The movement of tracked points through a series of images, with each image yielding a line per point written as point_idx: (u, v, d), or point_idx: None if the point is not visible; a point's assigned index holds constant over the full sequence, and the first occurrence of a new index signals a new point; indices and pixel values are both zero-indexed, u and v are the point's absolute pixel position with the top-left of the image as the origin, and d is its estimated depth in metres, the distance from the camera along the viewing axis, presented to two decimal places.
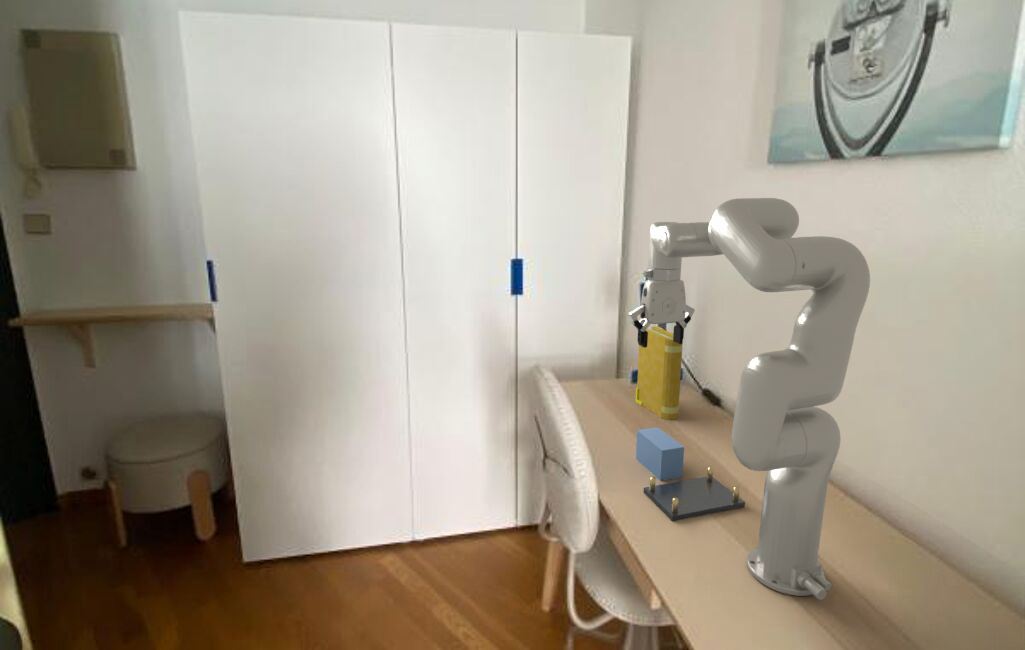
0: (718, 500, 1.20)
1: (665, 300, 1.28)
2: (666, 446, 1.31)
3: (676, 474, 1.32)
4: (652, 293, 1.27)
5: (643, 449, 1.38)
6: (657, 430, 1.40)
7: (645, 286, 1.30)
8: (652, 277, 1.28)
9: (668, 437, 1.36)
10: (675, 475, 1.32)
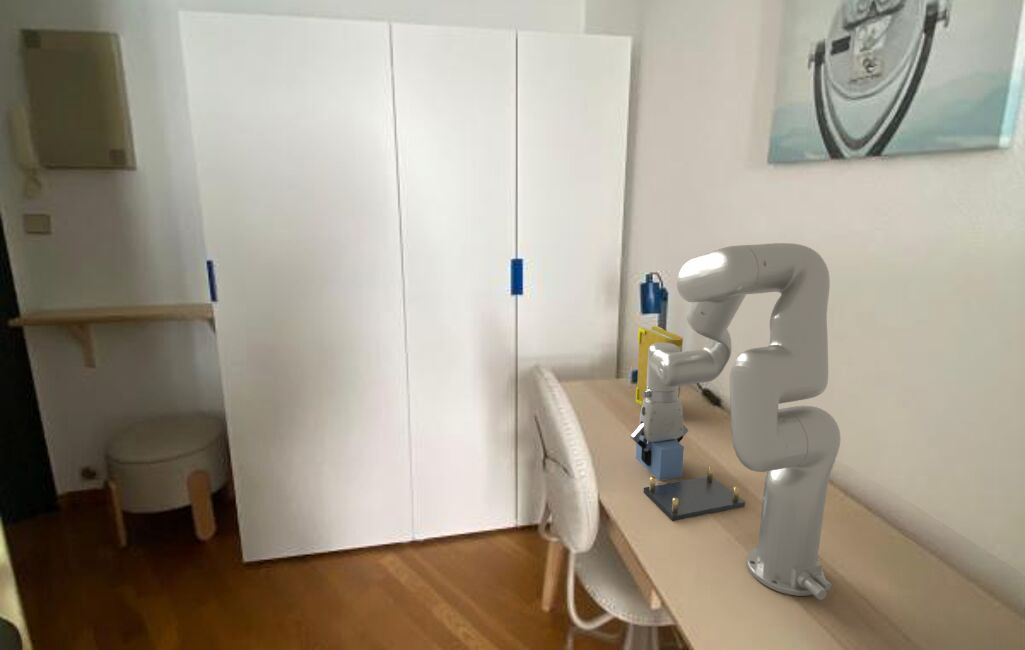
0: (718, 500, 1.20)
1: (663, 420, 1.32)
2: (666, 446, 1.31)
3: (675, 474, 1.32)
4: (650, 414, 1.31)
5: None
6: None
7: (643, 405, 1.33)
8: (650, 398, 1.31)
9: None
10: (674, 474, 1.32)
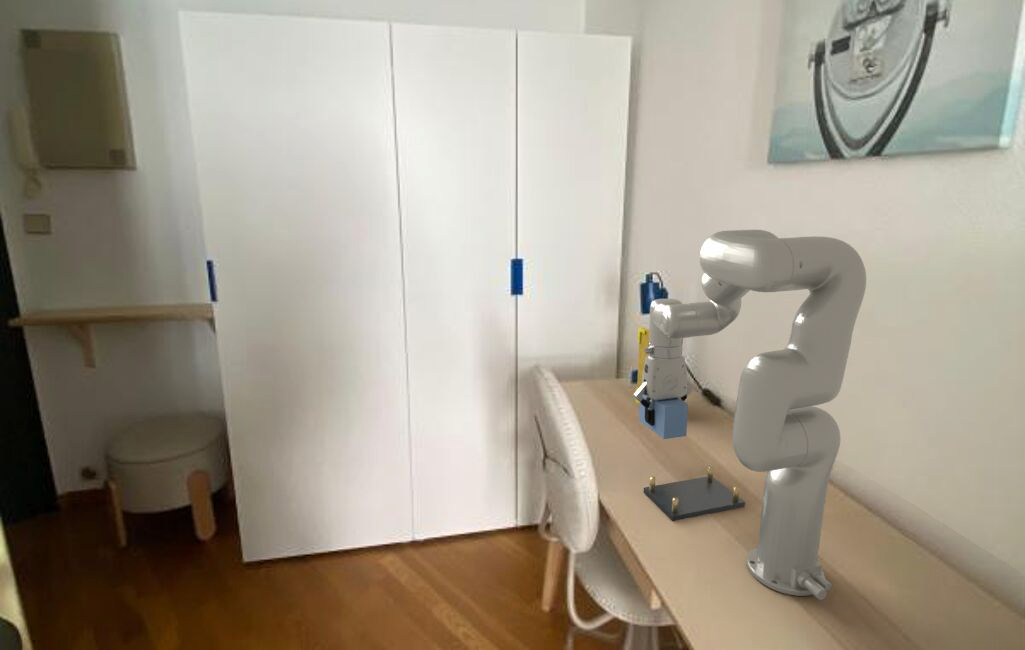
0: (718, 500, 1.20)
1: (666, 377, 1.29)
2: (670, 403, 1.28)
3: (679, 433, 1.29)
4: (653, 370, 1.28)
5: None
6: None
7: (646, 362, 1.30)
8: (653, 354, 1.28)
9: None
10: (679, 433, 1.29)
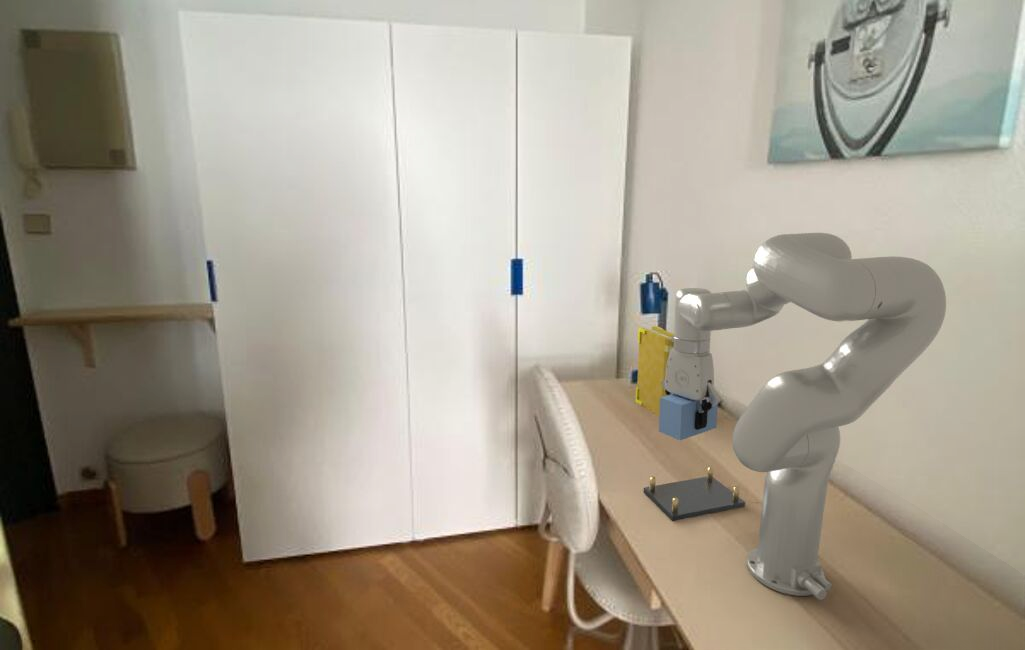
0: (718, 500, 1.20)
1: (678, 371, 1.20)
2: (671, 398, 1.20)
3: (673, 433, 1.19)
4: (668, 359, 1.22)
5: None
6: None
7: None
8: None
9: None
10: (673, 434, 1.19)
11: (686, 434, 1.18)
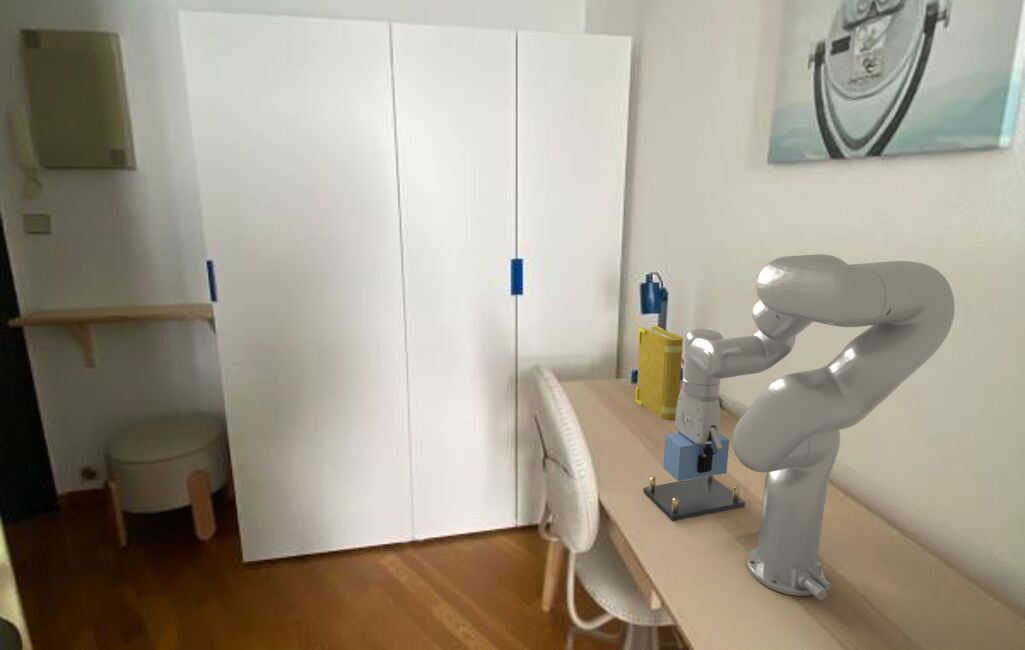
0: (718, 500, 1.20)
1: (684, 411, 1.18)
2: (675, 438, 1.19)
3: (673, 473, 1.19)
4: (678, 398, 1.21)
5: None
6: None
7: None
8: None
9: None
10: (673, 473, 1.19)
11: (685, 475, 1.17)
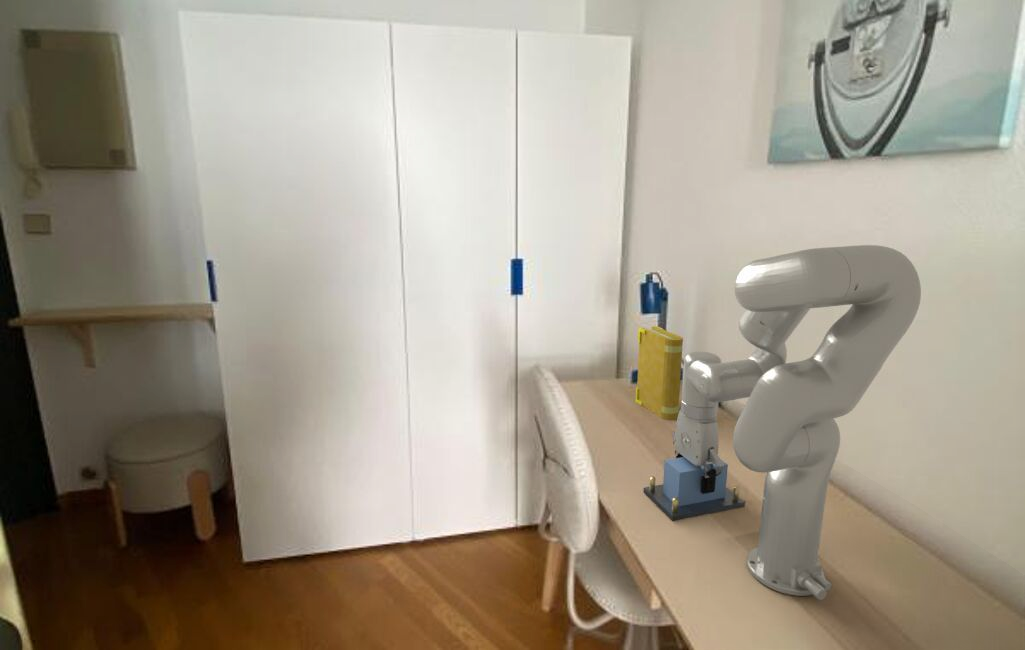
0: (718, 500, 1.20)
1: (683, 433, 1.19)
2: (674, 463, 1.20)
3: None
4: (677, 419, 1.22)
5: None
6: None
7: None
8: None
9: None
10: (672, 498, 1.20)
11: (685, 501, 1.18)
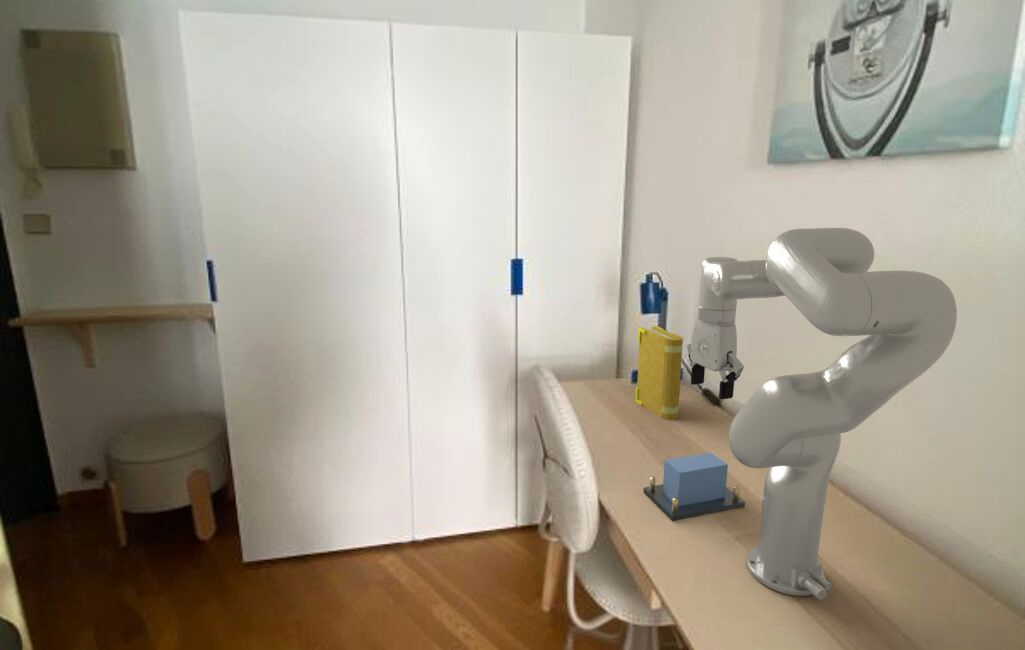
0: (718, 500, 1.20)
1: (701, 340, 1.19)
2: (674, 463, 1.20)
3: None
4: (693, 329, 1.21)
5: None
6: (717, 463, 1.20)
7: None
8: None
9: (701, 467, 1.19)
10: (672, 498, 1.20)
11: (685, 501, 1.18)
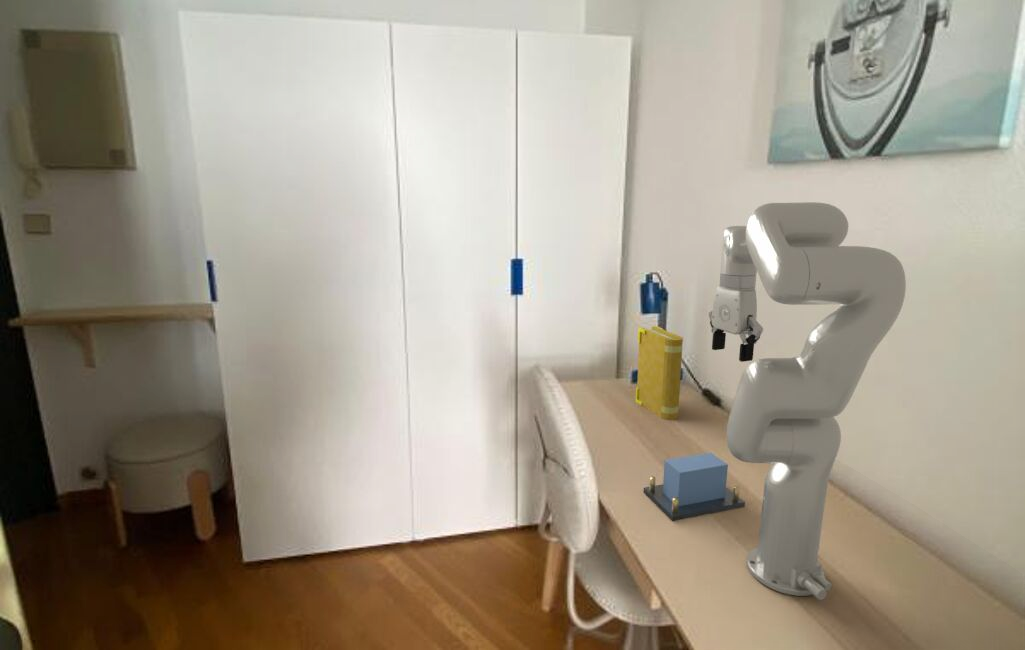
0: (718, 500, 1.20)
1: (722, 306, 1.25)
2: (674, 463, 1.20)
3: None
4: (715, 295, 1.27)
5: None
6: (717, 463, 1.20)
7: None
8: None
9: (701, 467, 1.19)
10: (672, 498, 1.20)
11: (685, 501, 1.18)
